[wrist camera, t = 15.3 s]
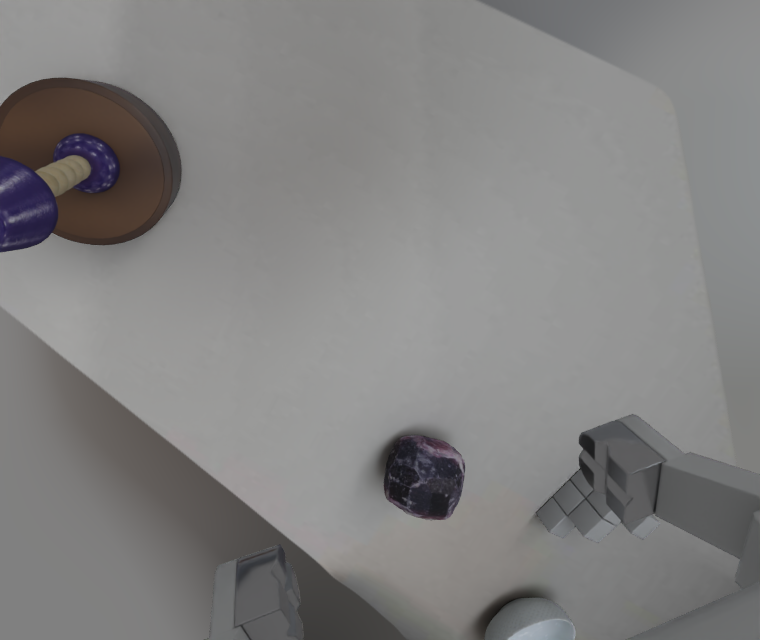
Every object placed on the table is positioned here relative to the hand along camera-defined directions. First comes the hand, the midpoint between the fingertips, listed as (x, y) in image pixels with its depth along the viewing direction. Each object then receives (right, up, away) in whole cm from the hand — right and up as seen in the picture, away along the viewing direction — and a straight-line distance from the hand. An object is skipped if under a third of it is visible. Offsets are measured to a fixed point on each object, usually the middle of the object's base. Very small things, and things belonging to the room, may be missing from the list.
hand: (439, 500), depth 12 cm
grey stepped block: (+32, -25, +64) cm, 76 cm away
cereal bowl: (+24, -51, +75) cm, 94 cm away
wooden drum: (-25, +18, +27) cm, 41 cm away
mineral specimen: (+3, -13, +50) cm, 52 cm away
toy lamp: (-24, +16, +22) cm, 36 cm away
